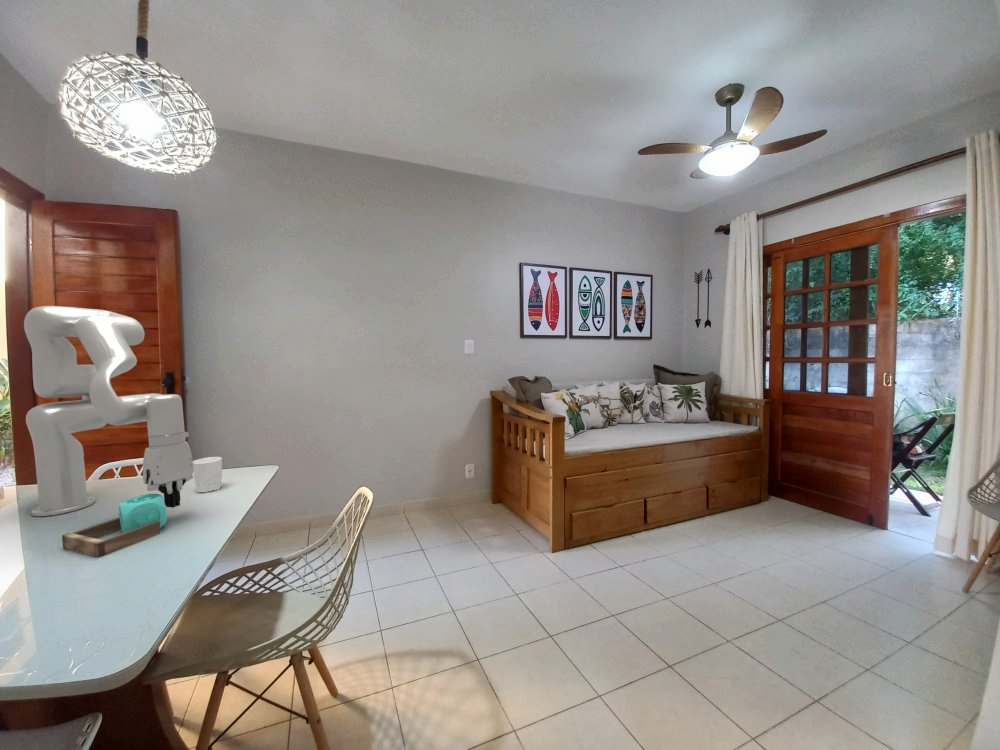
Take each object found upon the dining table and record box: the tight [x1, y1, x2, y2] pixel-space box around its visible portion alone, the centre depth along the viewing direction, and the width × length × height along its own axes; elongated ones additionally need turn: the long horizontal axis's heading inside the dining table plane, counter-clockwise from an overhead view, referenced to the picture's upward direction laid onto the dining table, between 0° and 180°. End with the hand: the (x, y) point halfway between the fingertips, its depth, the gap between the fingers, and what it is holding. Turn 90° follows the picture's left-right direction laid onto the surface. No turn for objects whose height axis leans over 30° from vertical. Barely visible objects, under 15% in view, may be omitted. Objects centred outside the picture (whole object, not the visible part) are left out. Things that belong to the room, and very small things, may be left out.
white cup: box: [193, 456, 223, 493], centre depth 130 cm, size 8×8×10 cm
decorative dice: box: [118, 493, 167, 534], centre depth 101 cm, size 8×8×8 cm
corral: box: [61, 516, 162, 558], centre depth 95 cm, size 13×12×3 cm
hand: (172, 506), depth 107 cm, fingers closed
